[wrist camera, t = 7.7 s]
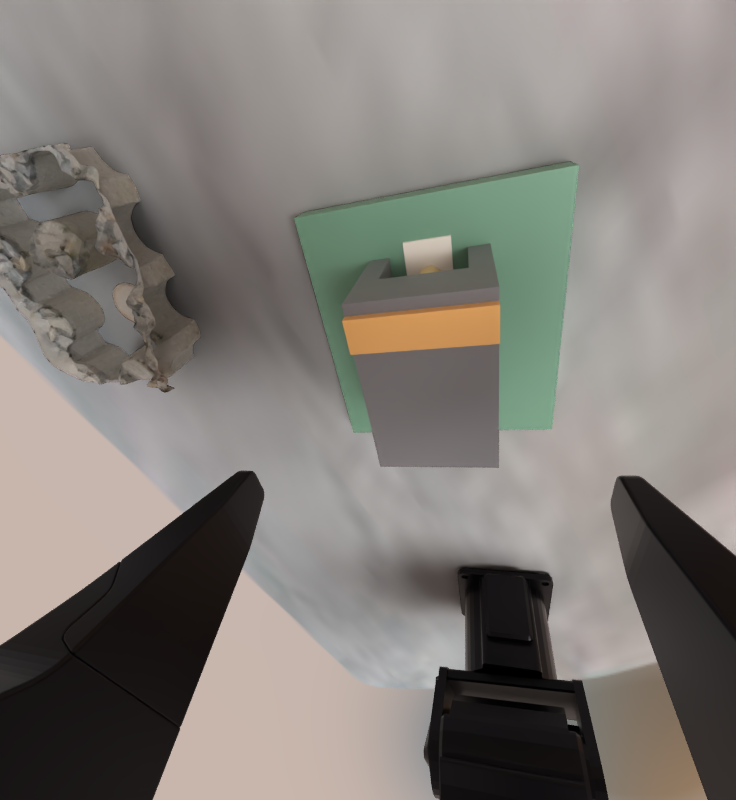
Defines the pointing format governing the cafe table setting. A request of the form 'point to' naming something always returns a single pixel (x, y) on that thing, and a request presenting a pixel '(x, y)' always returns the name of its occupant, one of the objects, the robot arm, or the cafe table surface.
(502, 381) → the board
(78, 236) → the egg carton
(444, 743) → the robot arm
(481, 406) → the plug housing
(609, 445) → the cafe table surface
